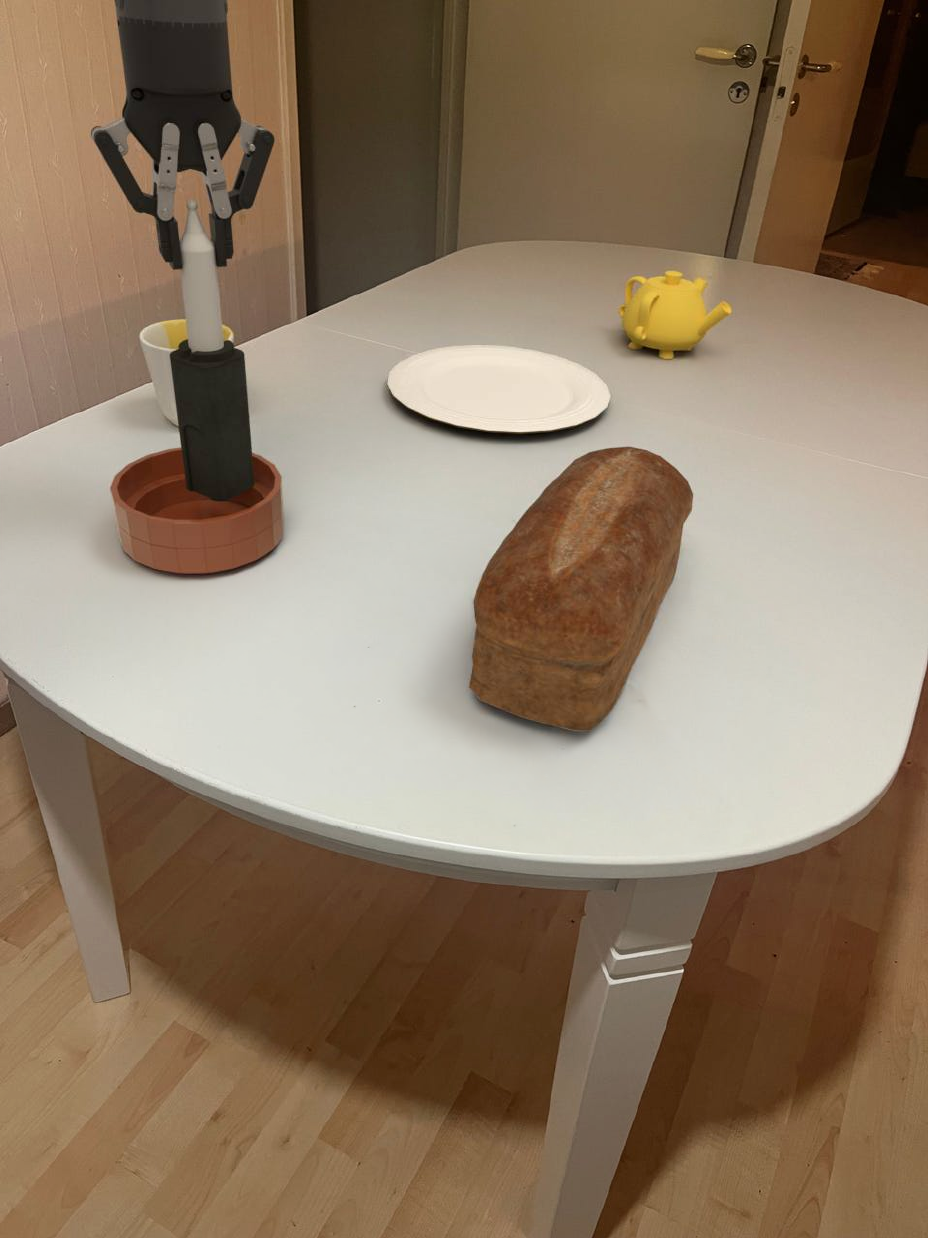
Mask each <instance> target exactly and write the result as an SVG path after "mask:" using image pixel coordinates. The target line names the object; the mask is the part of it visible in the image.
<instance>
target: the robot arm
mask: <svg viewBox="0 0 928 1238" xmlns="http://www.w3.org/2000/svg"><path fill="white" fill-rule="evenodd" d="M114 7H115V15H116V21H117V31H118V38H119V45H120V54H121V61H122V69H123V75H124V83H125V90H126V91H125V92H126V94H125V95H126V97H125V101H124V105H123V107H122V111H121V117H120V118H118V119H116V120H114V121H111V122H110V123H108V124H106V125H104V126H101V125H95V126H93V127H92V129H91V131H90V137H91V139H92V141H93V142H94V144H95V146H96V148H97V150H98V151H99V154H100V155H101V157H102V158H103V160H104V161H105V163H106V164H107V167H108V168H109V170H110V172H111V174H112V176H113V178H114V179H115V180H116V182H117V184H118V187H120V189H121V191H122V193H123V195H124V196H125V198H126V199H127V201H128V203H129V204H130V206H131V208H132V209H133V210H134V211H135V212H136V213H138V214H146V215H150V216H152V217H154V220H155V221H154V222H155V227H156V228H155V229H156V236H157V243H158V252H159V254H160V256H161V257H162V259H163V260H164V262H165V263H169V266H170V268H171V269H172V270H173V271H174V270H180V269H182V259H181V250H180V233H179V223H178V220H177V219H176V218H175V215H174V210H175V209H174V208H175V193H176V192H175V191H176V189H177V181H178V180H177V177H178V173H182V172H185V171H188V170H193V171H197V172H200V175H201V179H202V181H203V184H204V187H205V191H206V196H207V199H208V203H209V206H210V207H209V208H210V209H211V212H210V213H208V223H209V232H210V239H211V241H212V242H213V244H214V246H215V252H216V263H217V268H227V266H228V260H232V259H233V256H234V253H235V252H234V251H235V250H234V240H233V227H232V225H233V224H232V219H233V216H234V215H235V214H236V213H237V212H240V211H242V210H249V209H251V208H252V207H253V206H254V203H255V201H256V200H255V199H256V197H257V194H258V192H259V189H260V186H261V182H262V180H263V177H264V173H265V171H266V168H267V165H268V162H269V159H270V157H271V154H272V150H273V147H274V145H275V141H276V139H275V136H274V134H273V132H271V131H269V130H268V129H267V128H265V127H263V126H261V125H254V124H252V123H250V122H248V121H246V120H244V119H242V116H241V113H240V111H239V109H238V107H237V105H236V103H235V100H234V96H233V82H232V68H231V55H230V41H229V29H228V11H229V5H228V0H114ZM130 133H131V135H132V136H133V137H134V138H135V139H136V141H137V142H138V144H139V145H141V147H142V149H143V150H144V151H145V152H146V153H147V154H148V155H149V157H150V158H151V159H152V163H151V166H152V167H151V179H152V189H151V190H152V191H151V192H152V193H151V194H149V193H147V192H144V191H142V189H141V187H140V185H139V183H138V182H137V180H136V178H135V177H134V175H133V173H132V171H131V169H130V168H129V166H128V163H127V162H126V161H125V159H124V157H125V156H126V155H127V154H128V152H129V144H128V142H127V137H128V135H130ZM237 135H239V138H240V139H239V147H240V150H241V151H243V155H242V156H243V157H242V159H241V162H240V166H239V168H238V171H237V174H236V177H235V180H234V183H233V186H232V190H230V191H228V189H227V181H226V175H225V172H224V167H223V164H222V160H223V159H224V157H225V155H226V154H227V152H228V150H229V148H230V147H231V145H232V143H233V142H234V140H235V138H236V136H237Z"/></svg>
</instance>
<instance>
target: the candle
mask: <svg viewBox="0 0 928 1238" xmlns="http://www.w3.org/2000/svg"><path fill="white" fill-rule="evenodd" d="M186 208H187V216H186V221H185V225H184V232H183V234H182V235H181V237H180V238H179V241H180V250H181V259H182V269H179V273H180V282H181V290H182V291H181V292H182V298H183V299H182V300H183V307H184V308H183V309H184V316H185V317H184V319H186V327H187V336H188V339H186V340H184V341H182V342H181V343H180V344H179V349H177V350H175V351H172V352H171V353H170V362H171V370H172V378H173V386H174V394H175V402H176V410H177V418H178V425H179V427H178V433H179V441H180V447H181V449H182V457H183V465H184V473H185V481H186V488H187V489H188V490H189V491H194V492H197V493H199V494H202V495H204V496H207V497H209V498H211V500H213V501H226V500H229V499H231V498H233V497H235V496H237V495H239V494H241V493H243V492H245V491H247V490H248V489H250V488H252V487H253V486H254V471H253V458H252V453H253V446H252V433H251V421H250V410H249V408H250V407H249V397H248V396H249V395H248V384H247V383H248V381H247V372H246V371H247V370H246V357H245V352H244V351H243V350H241V349H240V348H236V347H235V345H234V344H235V343H234V344H233V343H232V342H231V341H230V340H226V341H224V340H223V329H222V325H223V319H222V310H221V309H222V308H221V298H220V286H219V274H218V267H217V263H216V252H215V246H214V244H213V242H212V241H211V237H209V235H208V234H207V233H206V231H205V228H204V226H203V223H202V221H201V217H200V215H199V212H198V203H197V201H195V200H194V199H188V201H187V202H186Z"/></svg>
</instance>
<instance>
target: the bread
mask: <svg viewBox="0 0 928 1238" xmlns="http://www.w3.org/2000/svg"><path fill="white" fill-rule="evenodd" d="M693 501H694V493H693V490H692V488H691V485H690V483H689V480H687V479H686V478H685V477H684V475H683V474H682V473H681V472H680V471H679V470H678V468H676V467H675V466H674V465H672V464H671V463H670V462H669V461H668V460H666V459H665V458H664V457H662V455H659V454H656V453H654V452H652V451H650V450H648V449H644V448H639V447H633V446H618V447H606V448H602V449H597V450H592V451H589V452H587V453H585V454H583V455H581V456H580V457H577V458H575V459H574V460H573V461H572V462H571V463H570V464H569V465H568V466H567V467H566V468H565V469H564V470H563V471H562V472H561V473H560V475H558V476H557V477H555V478H554V479H553V480H552V481H551V482H550V483H549V484H548V485H547V486H546V487H545V488H544V490H543V491H542V492H541V493H540V495H539V496H538V497H537V498H536V499H535V501H534V502H532V504H531V505H530V506H529V507H528V508H527V509H526V510H525V512H524V513H522V515H521V517H520V518H519V520H518V521H517V522H516V523H515V525H514V527H513V528H512V529H511V530H510V531H509V533H508V534H507V535H506V536H505V537H504V539H503V541H502V542H501V543H500V545H499V546H498V548H497V550H496V551H495V552H494V554H493V555H492V557H491V558H490V560H489V561H488V562H487V565H486V567H485V569H484V570H483V573H482V575H481V578H480V580H479V582H478V585H477V588H476V590H475V594H474V598H473V601H472V602H473V603H472V604H473V614H474V616H473V617H474V621H475V630H474V631H475V632H474V638H473V645H472V651H471V661H472V666H471V672H470V677H469V684H468V688H469V689H470V690H471V691H472V692H473V694H474V695H475V696H476V697H477V698H478V699H479V701H481V702H483V703H485V704H487V705H491V706H493V707H495V708H497V709H500V710H502V711H506V712H508V713H510V714H513V715H515V716H517V717H520V718H523V719H525V720H530V721H532V722H533V721H534V722H537V723H540V724H544V725H547V726H551V727H555V728H560V729H565V730H570V731H578V732H589V731H591V730H593V729H594V728H595V727H597V725H599V724H600V723H602V721H604V719H605V718H606V717H607V716H608V715H609V714H610V713H611V711H612V710H613V708H614V707H615V705H616V703H617V702H618V700H619V699H620V696H621V694H622V692H623V690H624V688H625V685H626V683H627V680H628V678H629V676H630V673H631V671H632V669H633V667H634V665H635V663H636V661H637V659H638V657H639V655H640V653H641V651H642V649H643V647H644V645H645V642H646V640H647V638H648V636H649V634H650V633H651V631H652V628H653V625H654V622H655V619H656V617H657V614H658V612H659V609H660V606H661V605H662V602H663V600H664V598H665V596H666V594H667V592H668V590H669V589H670V587H671V585H672V583H673V582H674V579H675V576H676V572H677V568H678V562H679V557H680V553H681V547H682V546H681V545H682V539H683V537H682V536H683V530H684V525H685V523H686V521H687V519H688V518H689V516H690V514H691V513H692V511H693Z"/></svg>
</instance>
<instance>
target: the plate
mask: <svg viewBox="0 0 928 1238" xmlns="http://www.w3.org/2000/svg"><path fill="white" fill-rule="evenodd" d="M387 387H388V389H389V391H390V393H391V395H392V397H393V398H394V399H395V400H396V401H398V402H399V403H400V404H401V405H403V406H404V407H405V408H407V409H408V410H410V411H412V412H414V413H416V414H419V415H421V416H423V417H425V418H427V419H429V420H432V421H434V422H439V423H442V424H446V425H449V426H452V427H456V428H460V429H465V430H473V431H478V432H485V433H493V434H494V433H495V434H512V435H513V434H514V435H524V434H525V435H526V434H537V433H538V434H539V433H551V432H557V431H561V430H566V429H572V428H576V427H578V426H580V425H583V424H585V423H588V422H590V421H592V420H595V419H596V418H598V417H599V416H600V415H602V413H603V412H605V411H606V410H607V409H608V406H609V403H610V401H611V393H610V390H609V387H608V384H606V383H605V381H604V380H602V379H601V378H600V376H598V374H596V373H595V372H593V371H592V370H590V369H588V368H586V367H584V366H582V365H581V364H579V363H577V362H574V361H572V360H570V359H567V358H564V357H561V356H559V355H555V354H551V353H547V352H543V351H539V350H536V349H528V348H522V347H515V346H508V345H493V344H492V345H491V344H467V345H466V344H463V345H452V346H446V347H439V348H432V349H429V350H426V351H423V352H419V353H415V354H413V355H411V356H409V357H407V358H405V359H403V360H401V361H399V362H397V363H396V364H395V366H394V367H393V368H392V369H391V370H390V371H389V372H388V376H387Z"/></svg>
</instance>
